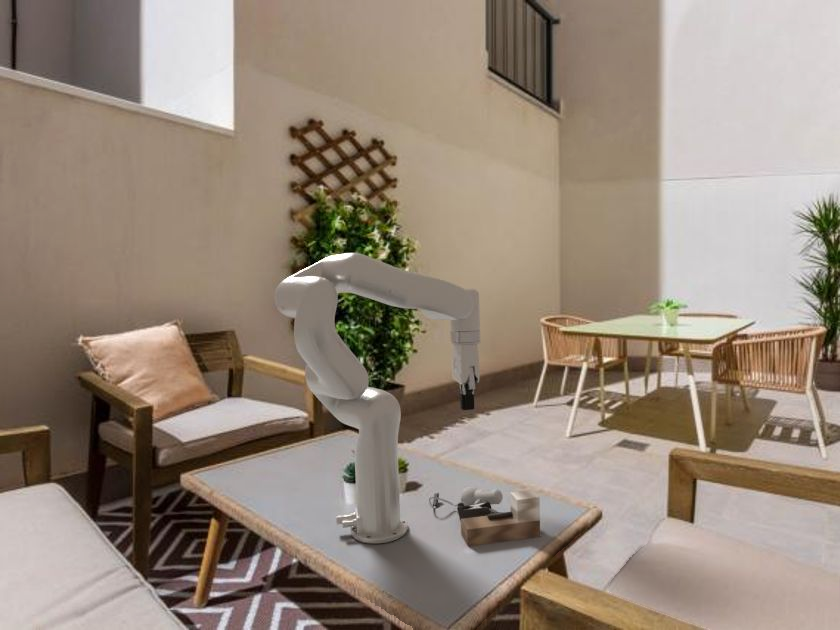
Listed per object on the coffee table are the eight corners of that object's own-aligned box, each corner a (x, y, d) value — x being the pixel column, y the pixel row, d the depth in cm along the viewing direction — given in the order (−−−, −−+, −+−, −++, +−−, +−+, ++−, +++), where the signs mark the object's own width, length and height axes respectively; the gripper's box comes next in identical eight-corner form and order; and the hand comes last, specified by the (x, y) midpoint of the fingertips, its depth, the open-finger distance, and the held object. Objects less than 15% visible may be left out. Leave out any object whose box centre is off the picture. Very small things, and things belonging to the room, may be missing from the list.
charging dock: (467, 546, 106) (466, 505, 106) (459, 531, 113) (458, 493, 112) (540, 536, 109) (539, 497, 109) (528, 522, 116) (527, 485, 115)
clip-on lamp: (422, 528, 122) (491, 527, 112) (414, 502, 121) (483, 499, 112) (444, 504, 132) (509, 501, 122) (437, 480, 131) (502, 476, 122)
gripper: (444, 335, 137) (446, 403, 138) (458, 341, 122) (461, 417, 124) (471, 334, 139) (473, 401, 140) (489, 339, 124) (491, 415, 125)
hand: (467, 408), depth 132 cm, fingers closed
